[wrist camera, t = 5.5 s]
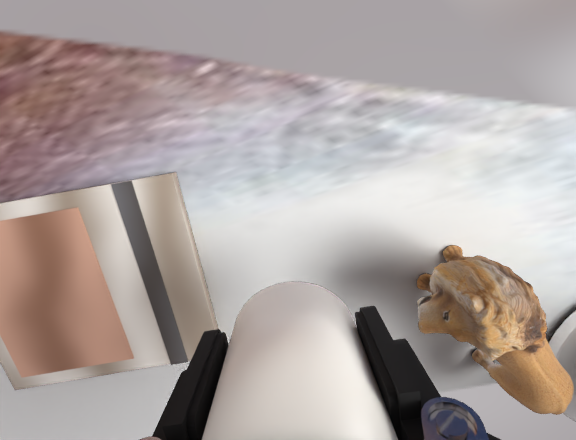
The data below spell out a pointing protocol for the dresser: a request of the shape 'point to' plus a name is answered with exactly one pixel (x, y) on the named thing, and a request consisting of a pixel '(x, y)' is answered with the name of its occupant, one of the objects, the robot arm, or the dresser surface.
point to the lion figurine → (496, 327)
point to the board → (99, 282)
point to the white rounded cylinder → (297, 372)
